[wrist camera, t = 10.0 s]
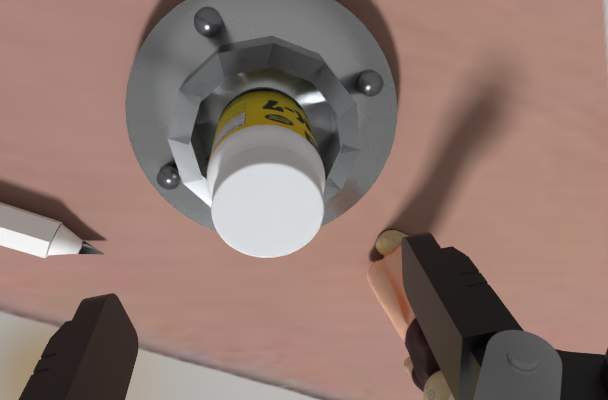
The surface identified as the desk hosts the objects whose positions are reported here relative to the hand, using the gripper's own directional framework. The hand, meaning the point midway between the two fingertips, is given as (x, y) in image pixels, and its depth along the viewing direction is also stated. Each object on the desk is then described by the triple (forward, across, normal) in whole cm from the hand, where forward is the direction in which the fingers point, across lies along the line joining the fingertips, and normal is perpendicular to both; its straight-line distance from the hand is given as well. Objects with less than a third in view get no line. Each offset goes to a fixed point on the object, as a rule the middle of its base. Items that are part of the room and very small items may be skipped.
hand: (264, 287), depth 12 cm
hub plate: (+13, -1, 0) cm, 13 cm away
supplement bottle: (+12, 0, 0) cm, 12 cm away
